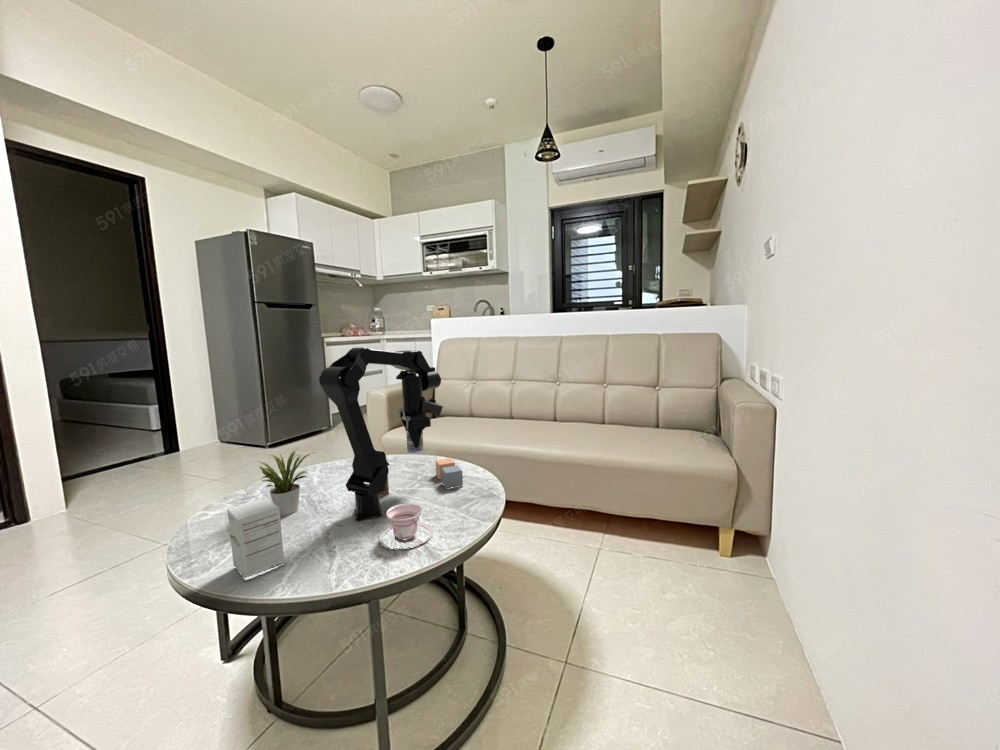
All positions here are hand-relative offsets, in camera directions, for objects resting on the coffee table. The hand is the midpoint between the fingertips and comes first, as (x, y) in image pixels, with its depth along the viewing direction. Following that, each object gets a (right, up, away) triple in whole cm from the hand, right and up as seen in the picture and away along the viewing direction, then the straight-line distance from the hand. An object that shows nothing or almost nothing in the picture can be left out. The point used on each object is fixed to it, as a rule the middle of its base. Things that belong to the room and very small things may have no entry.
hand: (415, 445), depth 117 cm
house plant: (-31, -15, -11) cm, 36 cm away
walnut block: (-10, -14, -2) cm, 17 cm away
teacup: (+4, -16, -27) cm, 32 cm away
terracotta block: (+8, -12, +10) cm, 17 cm away
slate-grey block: (+11, -13, +2) cm, 17 cm away
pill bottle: (0, -2, 0) cm, 2 cm away
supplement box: (-23, -18, -37) cm, 48 cm away
